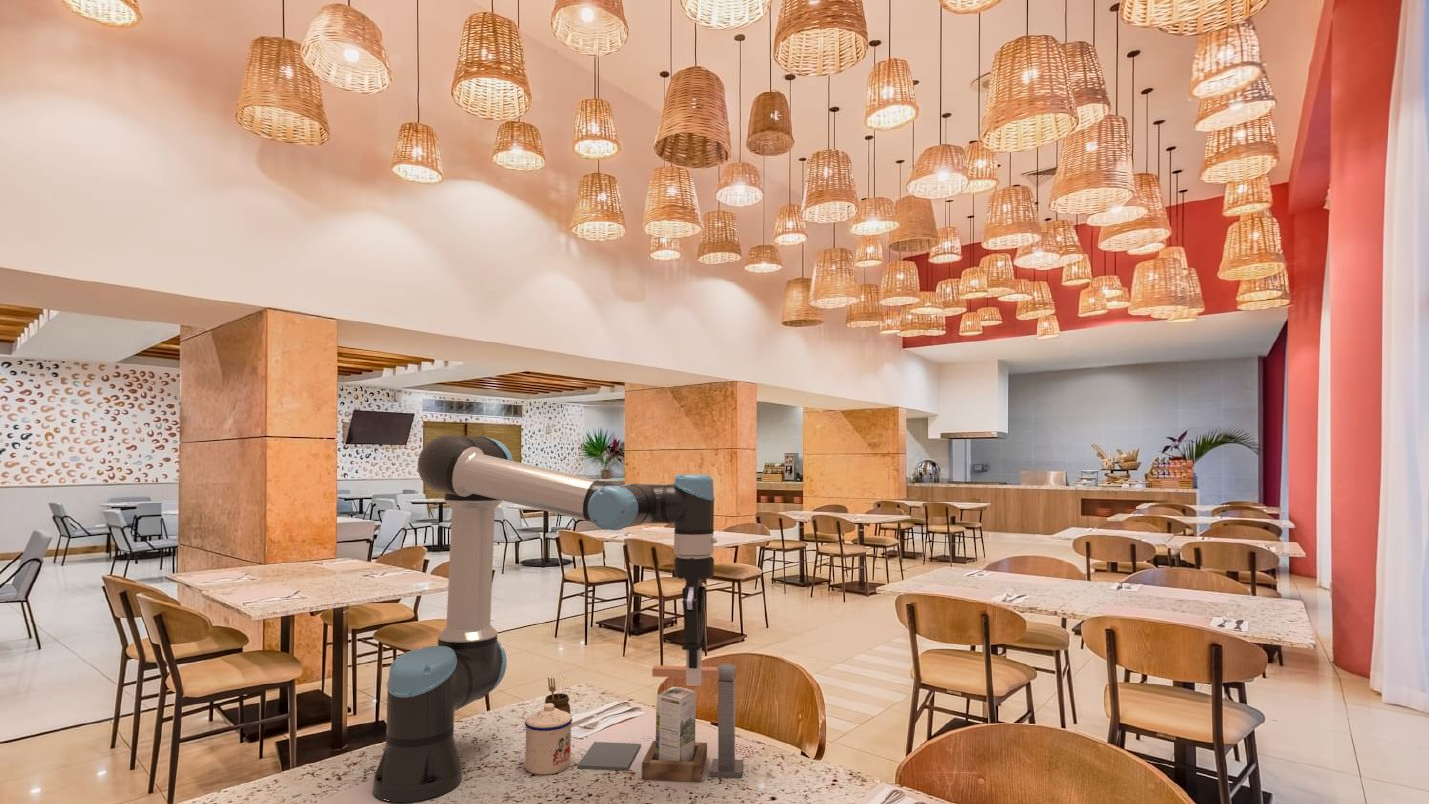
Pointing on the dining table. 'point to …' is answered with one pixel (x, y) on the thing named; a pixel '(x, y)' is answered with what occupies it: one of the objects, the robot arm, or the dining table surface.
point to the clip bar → (707, 672)
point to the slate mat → (609, 756)
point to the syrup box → (675, 725)
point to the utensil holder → (558, 697)
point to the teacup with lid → (548, 740)
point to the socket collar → (674, 766)
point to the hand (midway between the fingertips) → (693, 684)
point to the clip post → (726, 734)
